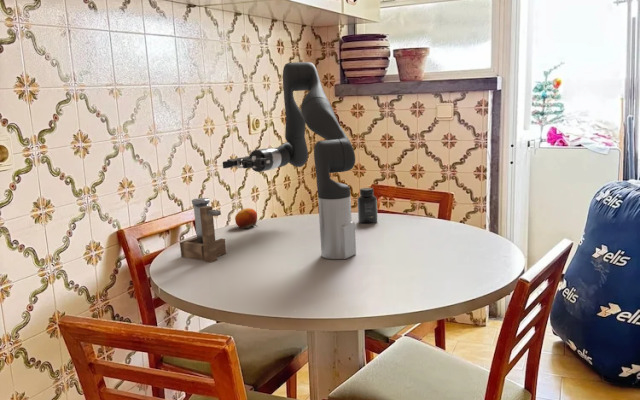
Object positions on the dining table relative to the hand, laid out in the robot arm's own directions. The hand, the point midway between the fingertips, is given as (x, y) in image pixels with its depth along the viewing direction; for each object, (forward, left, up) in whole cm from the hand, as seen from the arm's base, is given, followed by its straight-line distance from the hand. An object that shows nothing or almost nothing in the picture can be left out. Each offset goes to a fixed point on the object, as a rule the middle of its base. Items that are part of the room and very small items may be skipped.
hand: (233, 165), depth 179 cm
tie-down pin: (0, +16, -25) cm, 30 cm away
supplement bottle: (-26, -39, -25) cm, 54 cm away
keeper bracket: (-3, +17, -25) cm, 30 cm away
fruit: (+12, -17, -26) cm, 33 cm away
